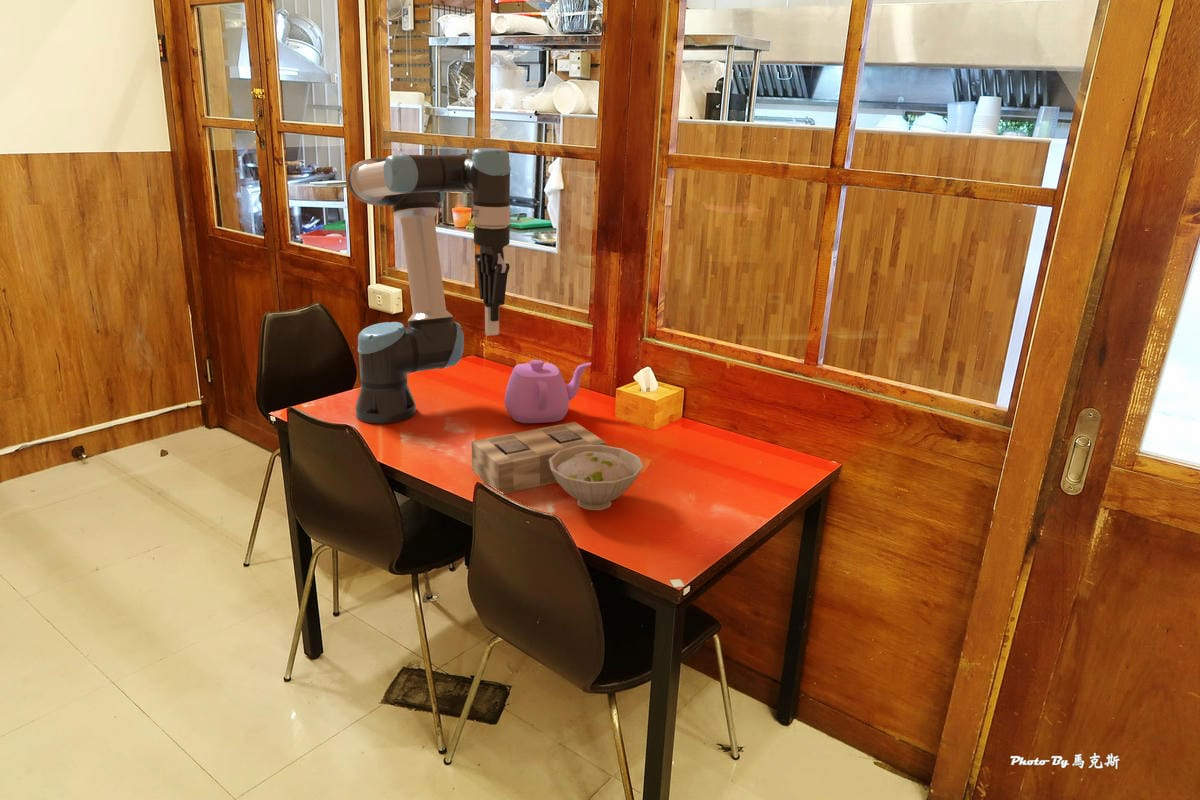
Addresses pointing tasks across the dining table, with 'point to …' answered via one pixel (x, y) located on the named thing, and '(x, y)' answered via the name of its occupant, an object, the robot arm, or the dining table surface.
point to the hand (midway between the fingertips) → (492, 334)
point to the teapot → (540, 392)
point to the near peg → (511, 447)
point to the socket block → (524, 457)
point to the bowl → (595, 473)
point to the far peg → (564, 437)
